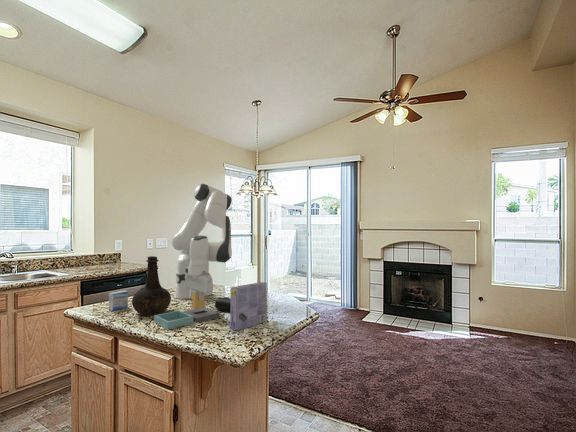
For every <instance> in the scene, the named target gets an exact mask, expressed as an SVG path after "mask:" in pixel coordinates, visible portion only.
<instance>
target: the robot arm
mask: <svg viewBox="0 0 576 432" xmlns="http://www.w3.org/2000/svg"><path fill="white" fill-rule="evenodd" d="M193 196H194V199H195V200H196V203H195V204H194V206H193V208H192V210H191V212H190V214H189V215H188V218H187V220H186V221H185V223H183V226H181V227H180V229H179V230H178V232H177V233H176V234H175V235H173V237H172V238H171V246H172V247H173V249H175V250H177V251H179V256H178V258H177V261H176V264H177V265H176V275H175V282H176V284H175V285H176V286H175V291H174V292H175V293H174V296H173V298H175V299H177V300H178V299H180V300H186V299H187V300H188V299H190V300H192V291H195V290H196V291H199V294H200V296H199V297H198V300H199V301H203V297H204V294H205V297H207V296H211V295H213V291H214V284H213V278H212V275H211V274H210V272H209V270H210V268H209V267H210V262H211V263H212V262H217V263H224V264H225V263H227V262H228V261H230V259H231V258H232V256H233V250H232V230H231V229H232V227H231V224H232V223H231V219H230V216H228V215H227V214H226V213H227V211H228V210H229V209H230V207H231V205H232V202H233V199H232V196H230V195H229V194H227V193H226V192H224V191H222V190H221V189H219V188H215V187H213V186H210V185H208V184H206V183H200V184H198V186H196V188H195V190H194V194H193ZM207 223H209V224H211V225H213V226H215V227H218V228H220V229H221V232H222V233H221V235H222V236H221V238H222V239H221V241H217V242H216V241H209V237H208V236H206V235H200V233H201V232H202V231H203V230H204V229H205V227H206V225H207Z"/></svg>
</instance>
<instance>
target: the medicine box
mask: <svg viewBox="0 0 576 432" xmlns="http://www.w3.org/2000/svg"><path fill="white" fill-rule="evenodd" d="M128 307H129V292H128V290H120V291H113V292H109V293H108V311H109V310H110V311H112V312H114V311H117V310H118V311H119V310H122V309H127V308H128Z"/></svg>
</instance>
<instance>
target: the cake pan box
mask: <svg viewBox="0 0 576 432" xmlns="http://www.w3.org/2000/svg"><path fill="white" fill-rule="evenodd" d="M267 285H268V283H267V282H264V281H260V282H255V283H248V284H243V285H236V286H231V287H230V299H231V312H230V330H234V331H236V332H239V331H242V330H245V329H247V328H251V327H254V326H257V325H259V324H263V323H265V322H267V321H268V314H267V313H268V311H267V310H268V305H267V304H268V301H267V300H268V299H267V298H268V295H267V293H268V290H267V289H268V288H267V287H268V286H267Z"/></svg>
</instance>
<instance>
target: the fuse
mask: <svg viewBox="0 0 576 432" xmlns="http://www.w3.org/2000/svg"><path fill="white" fill-rule="evenodd" d="M199 296H200V294H199V291H196V290H195V291H192V299H191V300H192V301H191V302H192V303H191V307H192V310H193V309H198V308H203V307H205V308H206V306H205V303H206V302H205V300H206V299H205V298H206V296H205V294H204V297H203V301H199V300H198V297H199Z"/></svg>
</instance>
